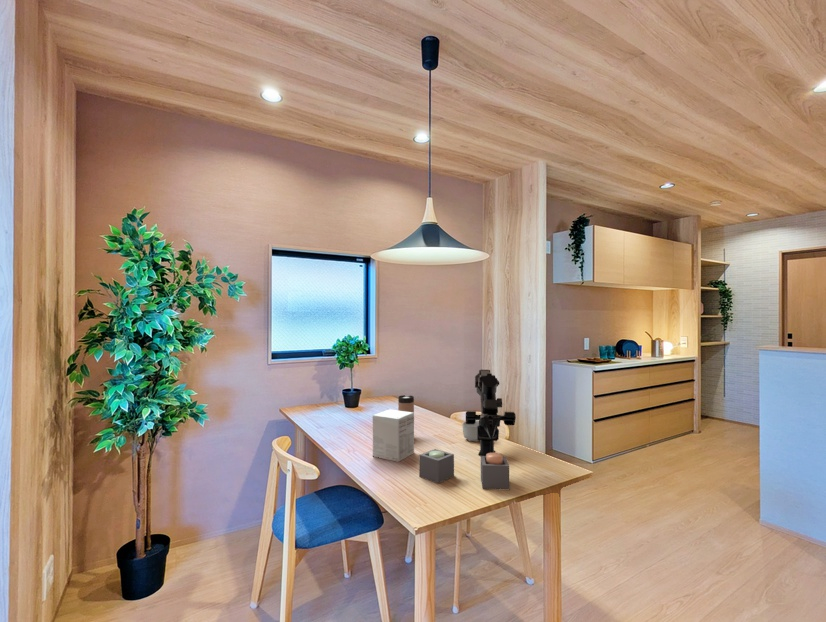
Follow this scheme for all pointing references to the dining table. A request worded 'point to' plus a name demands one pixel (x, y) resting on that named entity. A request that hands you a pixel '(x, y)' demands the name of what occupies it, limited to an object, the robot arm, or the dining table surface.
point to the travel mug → (406, 403)
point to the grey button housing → (436, 467)
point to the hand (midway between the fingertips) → (491, 438)
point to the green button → (436, 454)
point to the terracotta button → (494, 458)
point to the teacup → (470, 431)
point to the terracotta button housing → (494, 474)
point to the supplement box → (393, 434)
